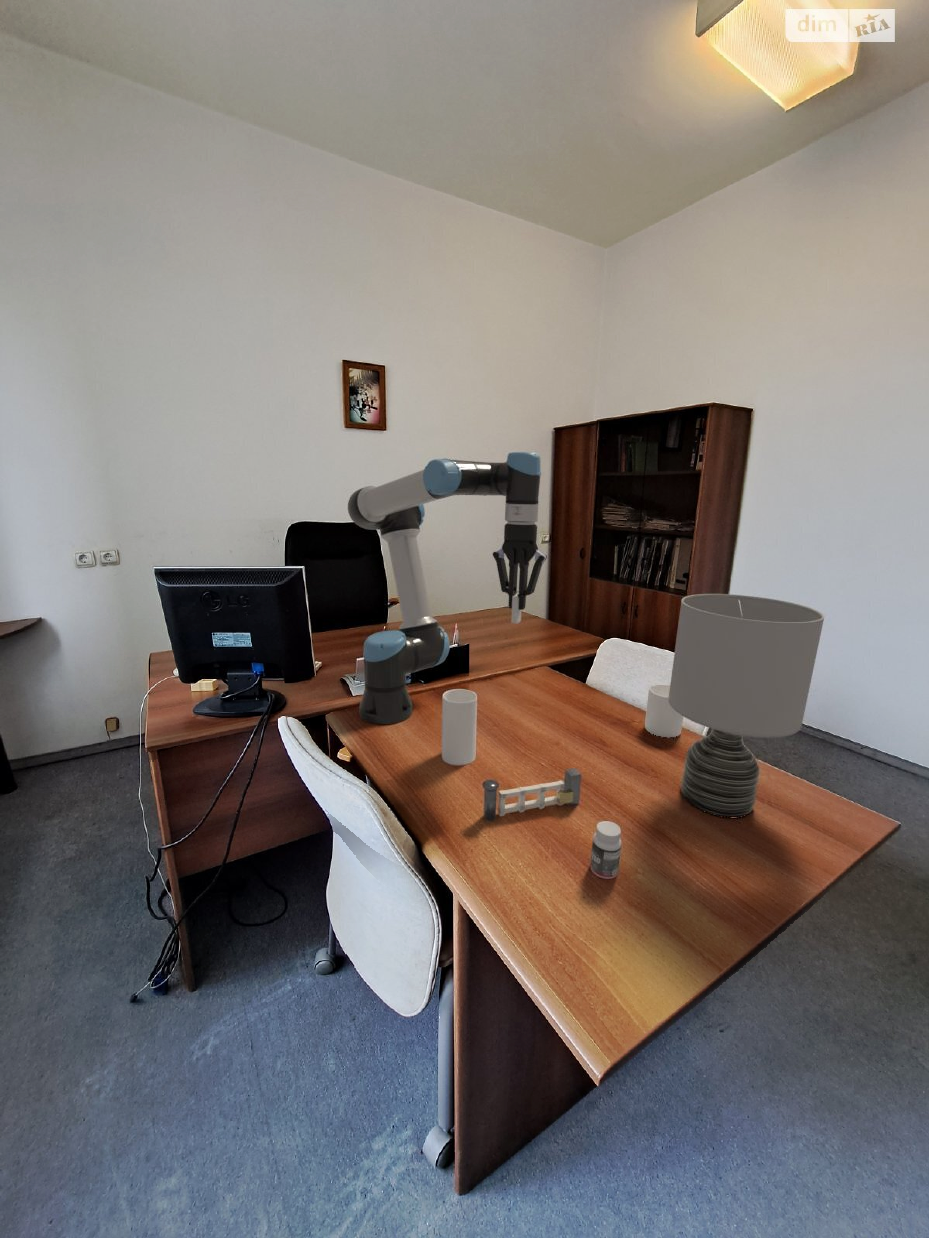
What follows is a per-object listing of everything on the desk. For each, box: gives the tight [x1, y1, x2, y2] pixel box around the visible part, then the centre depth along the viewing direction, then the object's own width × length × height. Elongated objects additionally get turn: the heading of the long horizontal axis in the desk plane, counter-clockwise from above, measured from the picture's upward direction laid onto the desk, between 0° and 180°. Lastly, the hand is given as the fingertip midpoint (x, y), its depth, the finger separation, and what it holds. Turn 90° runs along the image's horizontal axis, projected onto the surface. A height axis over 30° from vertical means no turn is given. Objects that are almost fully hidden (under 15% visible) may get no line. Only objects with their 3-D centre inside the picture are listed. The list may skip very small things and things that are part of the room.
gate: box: [497, 779, 565, 817], centre depth 102 cm, size 14×1×5 cm, turn 107°
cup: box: [441, 688, 478, 766], centre depth 121 cm, size 8×8×16 cm
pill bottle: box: [589, 820, 622, 880], centre depth 86 cm, size 5×5×8 cm
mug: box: [644, 684, 684, 739], centre depth 138 cm, size 10×12×12 cm
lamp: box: [668, 593, 825, 819], centre depth 102 cm, size 24×24×42 cm
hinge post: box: [482, 779, 500, 822], centre depth 99 cm, size 3×3×7 cm
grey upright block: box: [557, 768, 582, 807], centre depth 104 cm, size 3×5×7 cm, turn 108°
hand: (516, 621), depth 121 cm, fingers closed
